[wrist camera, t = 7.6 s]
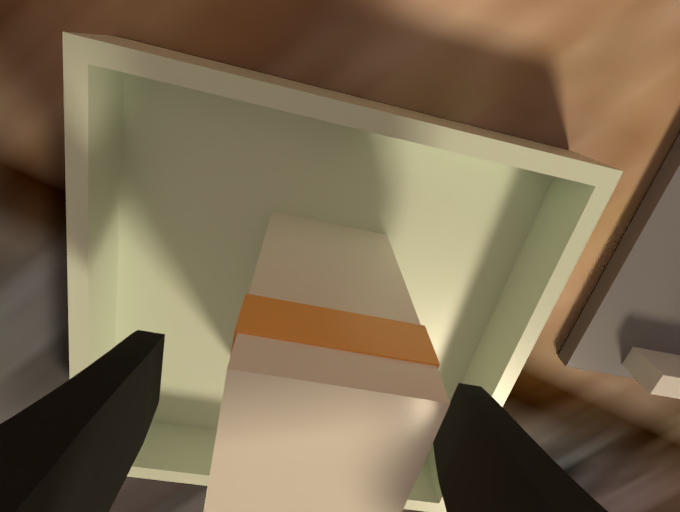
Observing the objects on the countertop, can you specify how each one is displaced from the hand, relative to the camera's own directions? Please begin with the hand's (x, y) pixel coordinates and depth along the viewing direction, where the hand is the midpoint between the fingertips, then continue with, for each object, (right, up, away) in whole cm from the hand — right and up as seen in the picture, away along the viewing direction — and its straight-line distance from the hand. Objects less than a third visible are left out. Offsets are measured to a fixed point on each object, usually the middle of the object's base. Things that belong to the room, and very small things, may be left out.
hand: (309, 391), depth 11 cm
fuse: (0, +2, +4) cm, 4 cm away
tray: (0, +2, +4) cm, 5 cm away
